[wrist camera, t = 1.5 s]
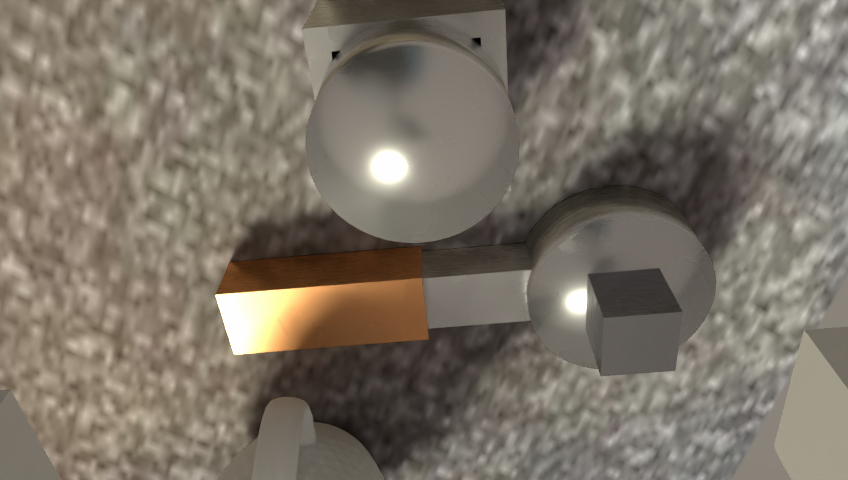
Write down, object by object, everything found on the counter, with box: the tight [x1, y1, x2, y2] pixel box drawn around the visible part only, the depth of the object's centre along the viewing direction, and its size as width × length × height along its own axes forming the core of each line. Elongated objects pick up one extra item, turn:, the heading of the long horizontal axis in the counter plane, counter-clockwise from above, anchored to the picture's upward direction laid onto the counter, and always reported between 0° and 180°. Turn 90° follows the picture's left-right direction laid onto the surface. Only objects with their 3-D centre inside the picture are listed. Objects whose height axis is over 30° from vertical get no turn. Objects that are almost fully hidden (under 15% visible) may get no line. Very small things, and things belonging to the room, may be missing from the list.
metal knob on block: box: [302, 0, 519, 243], centre depth 24 cm, size 6×6×8 cm
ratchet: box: [216, 185, 716, 376], centre depth 30 cm, size 8×22×6 cm, turn 95°
